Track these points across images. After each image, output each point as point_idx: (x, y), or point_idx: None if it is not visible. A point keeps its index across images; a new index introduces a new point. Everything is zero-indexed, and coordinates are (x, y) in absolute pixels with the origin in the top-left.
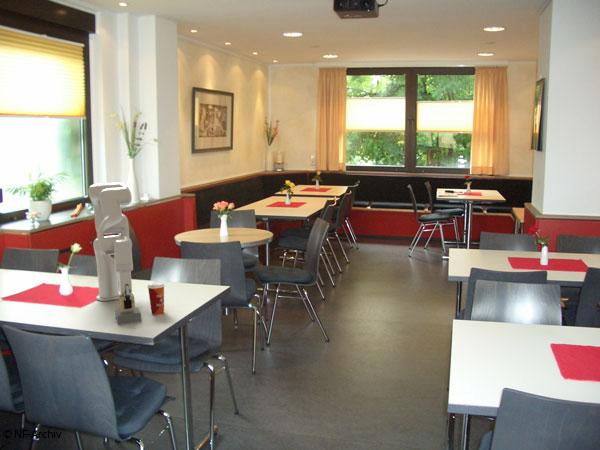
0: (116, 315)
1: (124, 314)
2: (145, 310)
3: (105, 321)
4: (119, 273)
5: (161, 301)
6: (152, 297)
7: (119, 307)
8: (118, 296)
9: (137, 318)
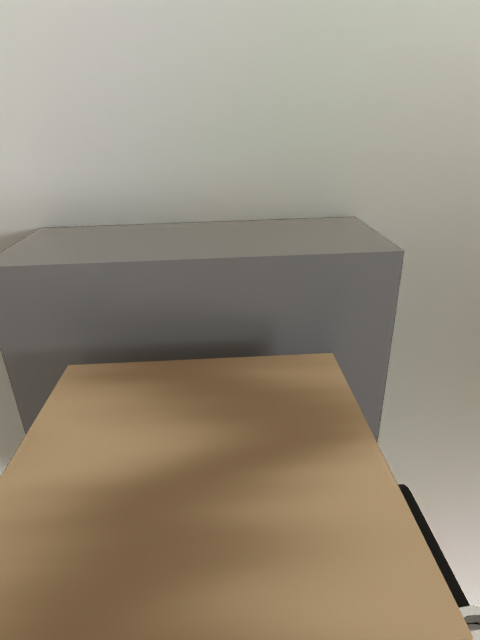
0: (140, 251)
1: (20, 379)
2: (462, 522)
3: (284, 57)
4: None
5: None
6: None
7: (311, 358)
8: (433, 561)
9: None
